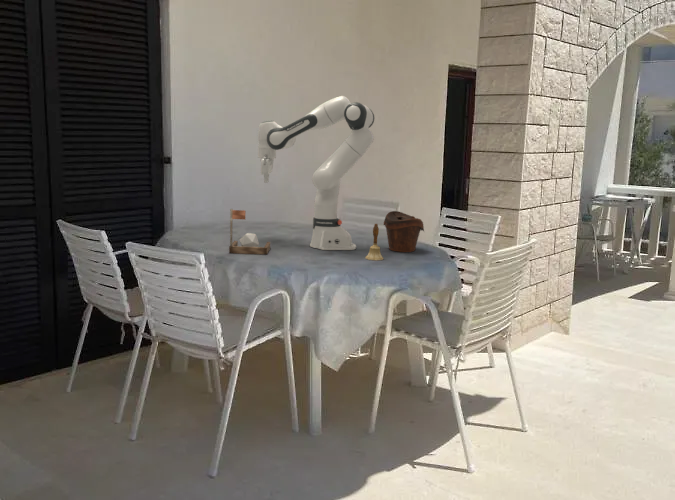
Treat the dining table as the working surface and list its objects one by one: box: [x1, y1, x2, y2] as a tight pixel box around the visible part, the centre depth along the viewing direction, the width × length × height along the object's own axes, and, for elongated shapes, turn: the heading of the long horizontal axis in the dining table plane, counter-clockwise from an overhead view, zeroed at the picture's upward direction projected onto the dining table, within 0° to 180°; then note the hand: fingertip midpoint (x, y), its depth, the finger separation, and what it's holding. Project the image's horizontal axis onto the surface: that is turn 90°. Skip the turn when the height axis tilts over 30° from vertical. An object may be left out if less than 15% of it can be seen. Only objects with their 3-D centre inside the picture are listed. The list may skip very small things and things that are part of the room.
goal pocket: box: [228, 208, 271, 256], centre depth 308 cm, size 17×16×20 cm
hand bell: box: [364, 223, 384, 261], centre depth 301 cm, size 8×8×16 cm
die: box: [239, 232, 260, 247], centre depth 310 cm, size 8×9×10 cm
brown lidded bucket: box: [383, 210, 425, 253], centre depth 324 cm, size 18×20×18 cm
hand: (266, 182), depth 333 cm, fingers closed
